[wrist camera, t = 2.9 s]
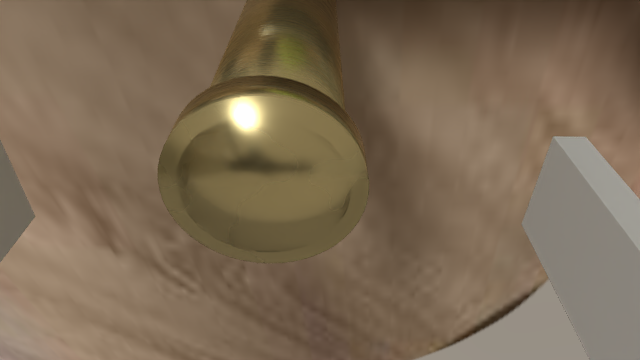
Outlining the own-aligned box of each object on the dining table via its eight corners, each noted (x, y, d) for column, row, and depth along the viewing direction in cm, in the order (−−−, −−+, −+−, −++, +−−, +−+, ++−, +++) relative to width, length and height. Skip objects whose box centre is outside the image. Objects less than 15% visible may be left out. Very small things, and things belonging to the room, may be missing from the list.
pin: (250, 39, 25) (177, 262, 12) (242, -61, 22) (136, 95, 9) (340, 40, 25) (361, 264, 12) (344, -59, 22) (377, 98, 9)
